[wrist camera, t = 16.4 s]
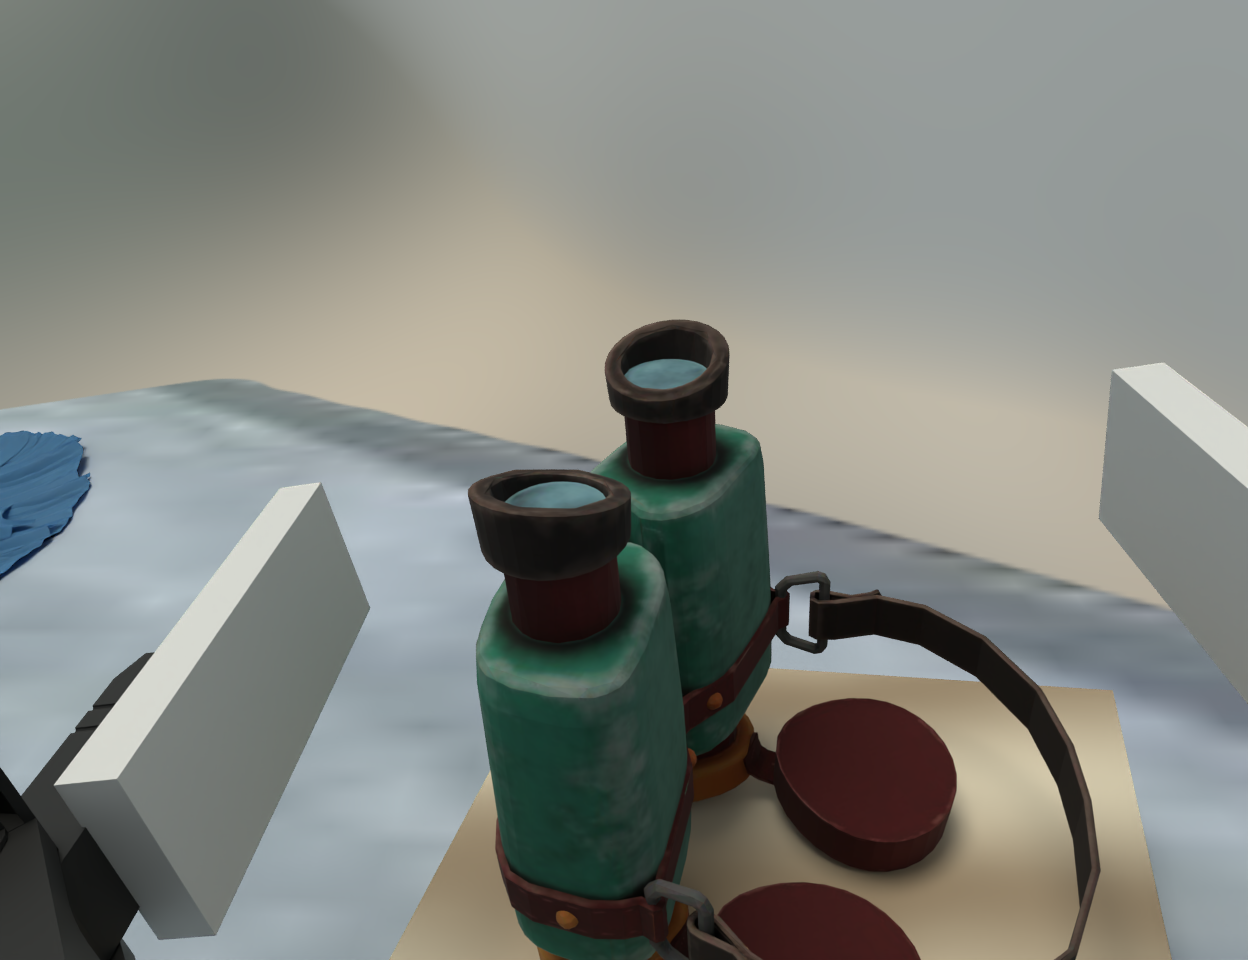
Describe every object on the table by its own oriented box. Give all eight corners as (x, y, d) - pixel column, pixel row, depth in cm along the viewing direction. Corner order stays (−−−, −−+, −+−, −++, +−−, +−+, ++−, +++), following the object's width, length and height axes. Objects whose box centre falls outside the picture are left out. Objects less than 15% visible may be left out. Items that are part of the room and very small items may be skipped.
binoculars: (1262, 736, 7) (286, 533, 11) (1044, 1265, 13) (444, 1011, 16) (1167, 324, 14) (592, 286, 18) (1053, 780, 20) (631, 679, 23)
